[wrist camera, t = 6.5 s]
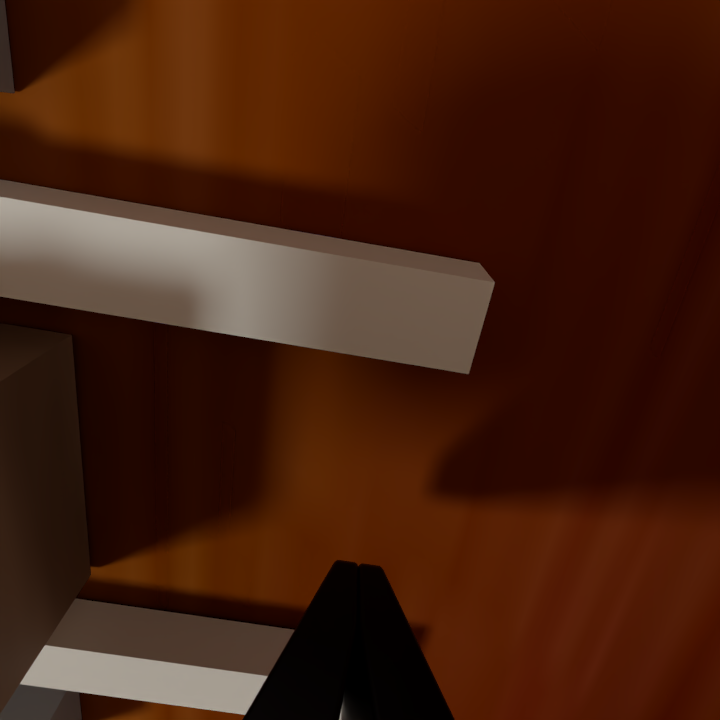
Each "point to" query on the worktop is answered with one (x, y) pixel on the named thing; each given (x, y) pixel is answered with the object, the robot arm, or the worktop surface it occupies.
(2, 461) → the rider
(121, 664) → the beam slot
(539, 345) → the worktop surface
